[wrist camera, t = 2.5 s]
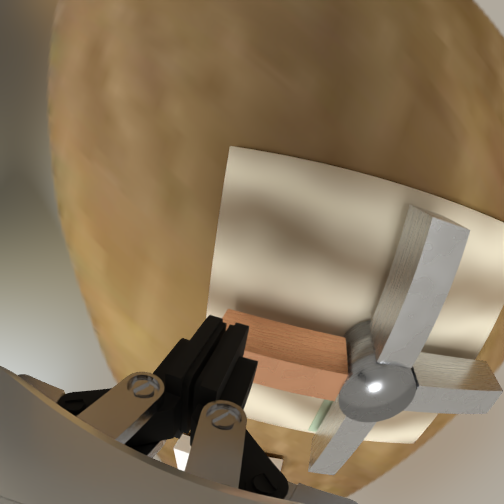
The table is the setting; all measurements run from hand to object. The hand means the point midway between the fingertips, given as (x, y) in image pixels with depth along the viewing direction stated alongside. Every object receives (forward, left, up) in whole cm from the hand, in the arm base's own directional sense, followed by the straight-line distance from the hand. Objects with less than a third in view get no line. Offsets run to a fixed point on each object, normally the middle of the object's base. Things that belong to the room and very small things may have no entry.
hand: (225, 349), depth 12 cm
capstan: (+4, +9, -10) cm, 14 cm away
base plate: (+4, +8, -11) cm, 14 cm away
